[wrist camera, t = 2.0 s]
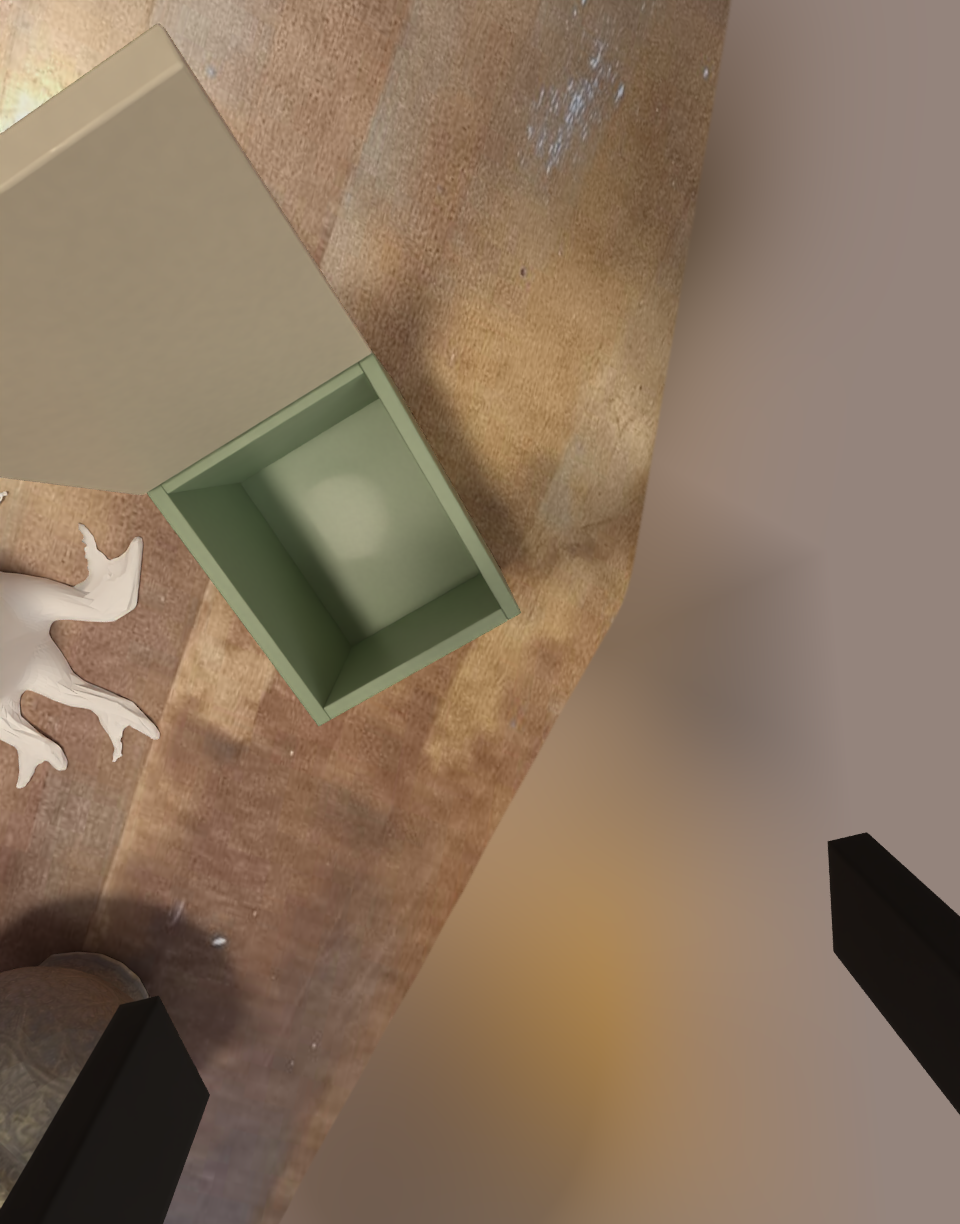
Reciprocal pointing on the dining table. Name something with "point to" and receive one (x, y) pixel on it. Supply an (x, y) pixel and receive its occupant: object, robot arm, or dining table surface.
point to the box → (340, 542)
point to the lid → (147, 283)
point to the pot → (50, 1042)
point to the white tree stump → (29, 659)
